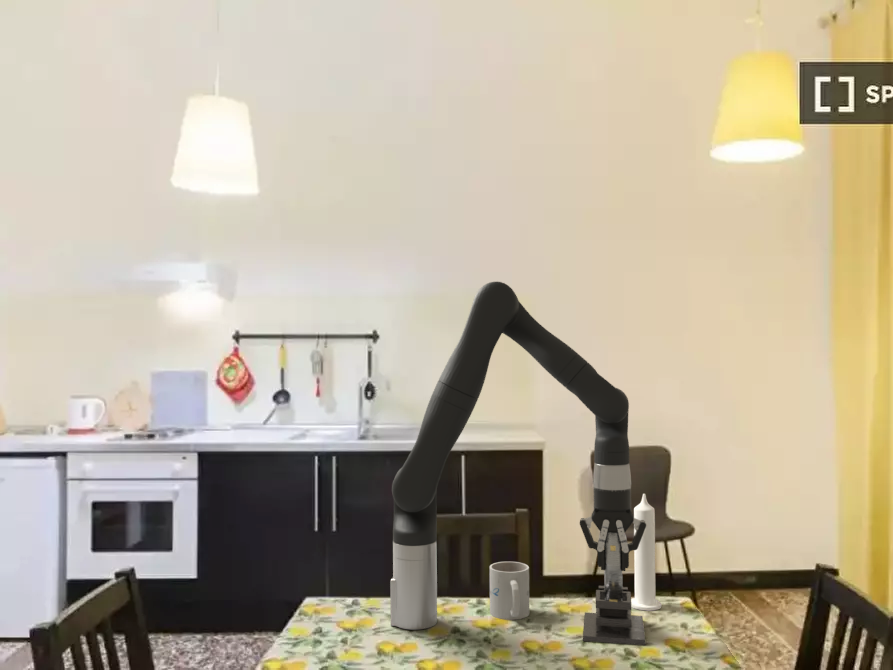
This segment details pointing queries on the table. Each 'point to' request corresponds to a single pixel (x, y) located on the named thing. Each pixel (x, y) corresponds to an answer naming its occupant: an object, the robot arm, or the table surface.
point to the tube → (613, 567)
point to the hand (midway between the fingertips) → (613, 569)
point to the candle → (645, 560)
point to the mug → (509, 590)
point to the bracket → (613, 621)
